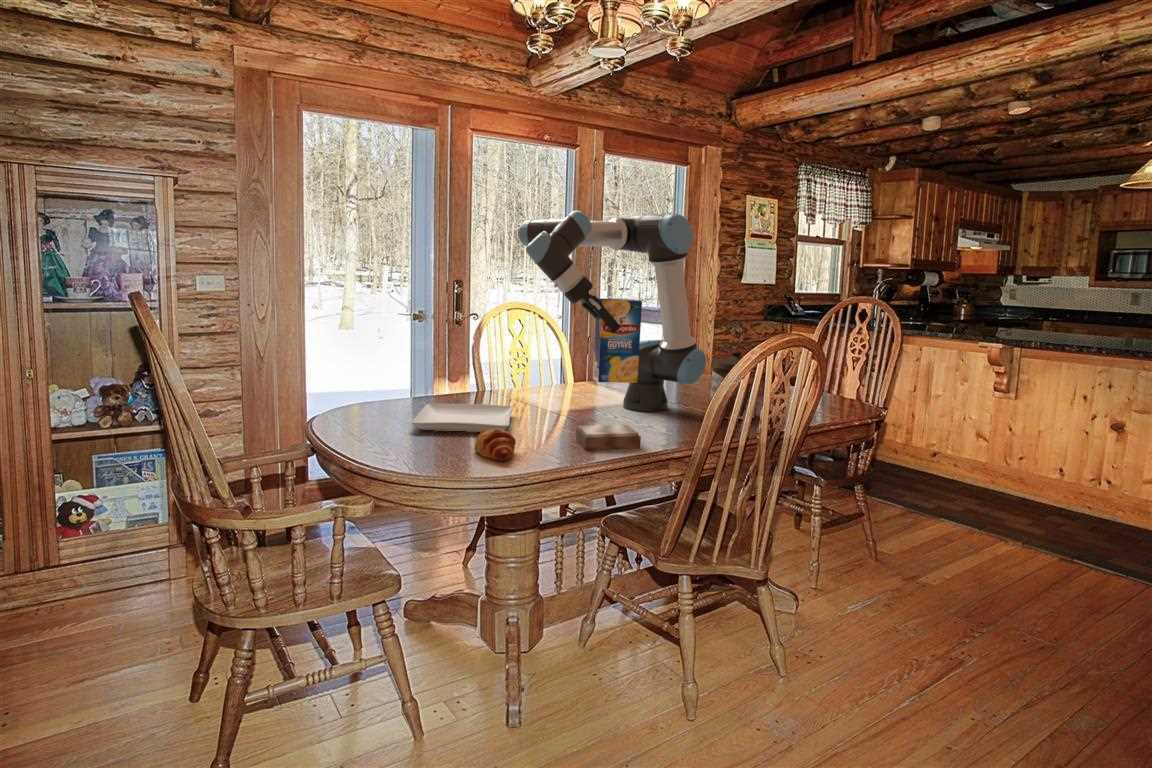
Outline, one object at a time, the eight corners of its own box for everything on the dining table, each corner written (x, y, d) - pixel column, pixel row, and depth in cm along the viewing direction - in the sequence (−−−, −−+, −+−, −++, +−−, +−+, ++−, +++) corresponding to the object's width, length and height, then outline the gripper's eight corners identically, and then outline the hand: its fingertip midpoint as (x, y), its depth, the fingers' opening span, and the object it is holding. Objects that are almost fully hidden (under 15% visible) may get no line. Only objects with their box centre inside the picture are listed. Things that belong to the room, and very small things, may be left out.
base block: (628, 438, 200) (628, 424, 200) (640, 448, 190) (640, 433, 189) (575, 439, 197) (576, 425, 196) (585, 449, 186) (585, 434, 186)
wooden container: (704, 410, 242) (708, 346, 238) (747, 411, 243) (751, 347, 239) (715, 420, 227) (720, 351, 224) (761, 421, 228) (766, 352, 225)
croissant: (474, 456, 190) (460, 431, 188) (507, 437, 192) (493, 412, 190) (495, 478, 170) (480, 450, 168) (531, 456, 173) (516, 428, 171)
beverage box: (637, 382, 193) (642, 300, 190) (598, 382, 191) (602, 299, 188) (630, 378, 200) (635, 299, 197) (592, 378, 198) (596, 298, 194)
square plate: (410, 434, 198) (410, 421, 198) (427, 414, 225) (427, 402, 225) (508, 437, 199) (508, 423, 199) (513, 416, 226) (514, 404, 226)
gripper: (557, 292, 196) (613, 354, 202) (568, 294, 182) (628, 361, 188) (577, 273, 196) (632, 335, 202) (589, 274, 182) (648, 341, 188)
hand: (630, 347), depth 195 cm, fingers closed on beverage box, 2 cm apart
